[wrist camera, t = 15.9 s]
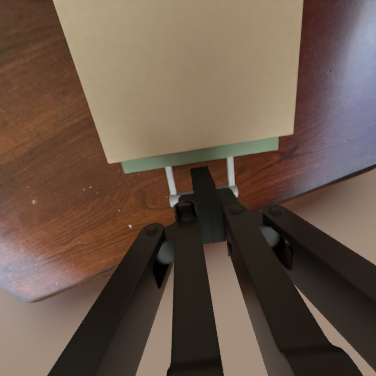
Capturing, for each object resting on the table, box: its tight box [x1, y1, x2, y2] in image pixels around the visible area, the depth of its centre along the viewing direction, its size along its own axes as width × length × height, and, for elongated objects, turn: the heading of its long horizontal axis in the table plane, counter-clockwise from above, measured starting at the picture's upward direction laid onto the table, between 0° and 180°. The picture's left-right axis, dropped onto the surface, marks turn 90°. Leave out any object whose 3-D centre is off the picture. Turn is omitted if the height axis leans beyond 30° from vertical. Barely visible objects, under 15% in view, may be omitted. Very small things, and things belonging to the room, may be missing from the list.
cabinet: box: [53, 0, 303, 163], centre depth 15 cm, size 16×14×10 cm
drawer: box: [121, 137, 279, 207], centre depth 17 cm, size 20×13×8 cm, turn 9°
